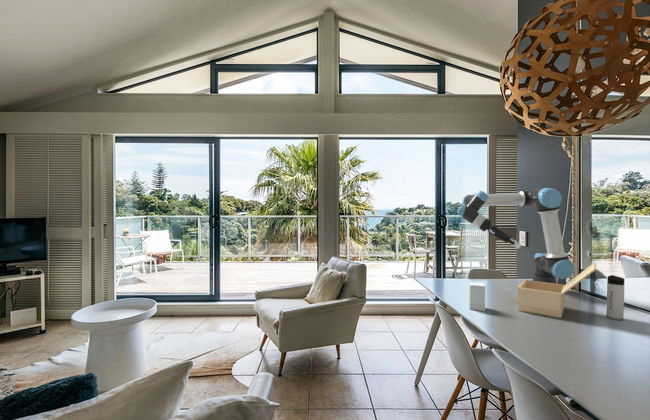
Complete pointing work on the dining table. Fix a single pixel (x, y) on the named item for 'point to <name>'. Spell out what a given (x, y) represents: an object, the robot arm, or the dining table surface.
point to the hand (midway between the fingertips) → (520, 247)
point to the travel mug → (615, 298)
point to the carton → (541, 298)
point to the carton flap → (579, 277)
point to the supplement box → (477, 296)
